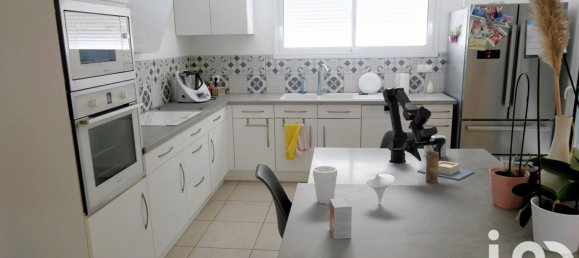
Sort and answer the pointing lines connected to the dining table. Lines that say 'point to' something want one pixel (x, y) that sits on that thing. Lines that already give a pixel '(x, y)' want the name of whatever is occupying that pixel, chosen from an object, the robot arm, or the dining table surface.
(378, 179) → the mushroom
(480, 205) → the dining table surface
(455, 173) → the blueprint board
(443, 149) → the light bulb box
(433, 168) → the walnut column
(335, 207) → the small box
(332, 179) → the foam cup
